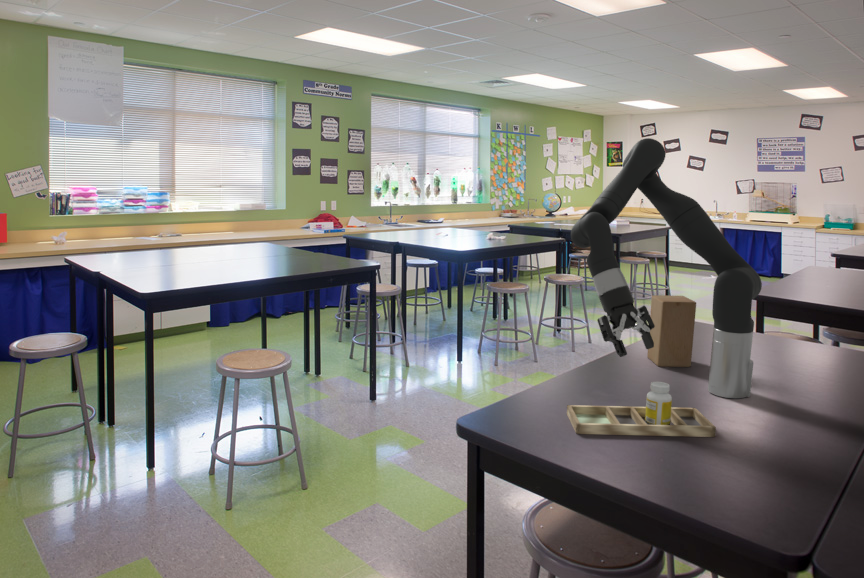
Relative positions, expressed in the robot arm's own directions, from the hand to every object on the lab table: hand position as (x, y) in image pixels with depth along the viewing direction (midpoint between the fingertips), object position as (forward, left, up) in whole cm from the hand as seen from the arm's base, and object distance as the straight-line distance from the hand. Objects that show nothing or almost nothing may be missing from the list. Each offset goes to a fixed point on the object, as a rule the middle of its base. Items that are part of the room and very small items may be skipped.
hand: (637, 352), depth 148 cm
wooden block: (-22, -39, -14) cm, 47 cm away
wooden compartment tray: (+2, +11, -14) cm, 18 cm away
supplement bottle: (-2, +11, -14) cm, 18 cm away
